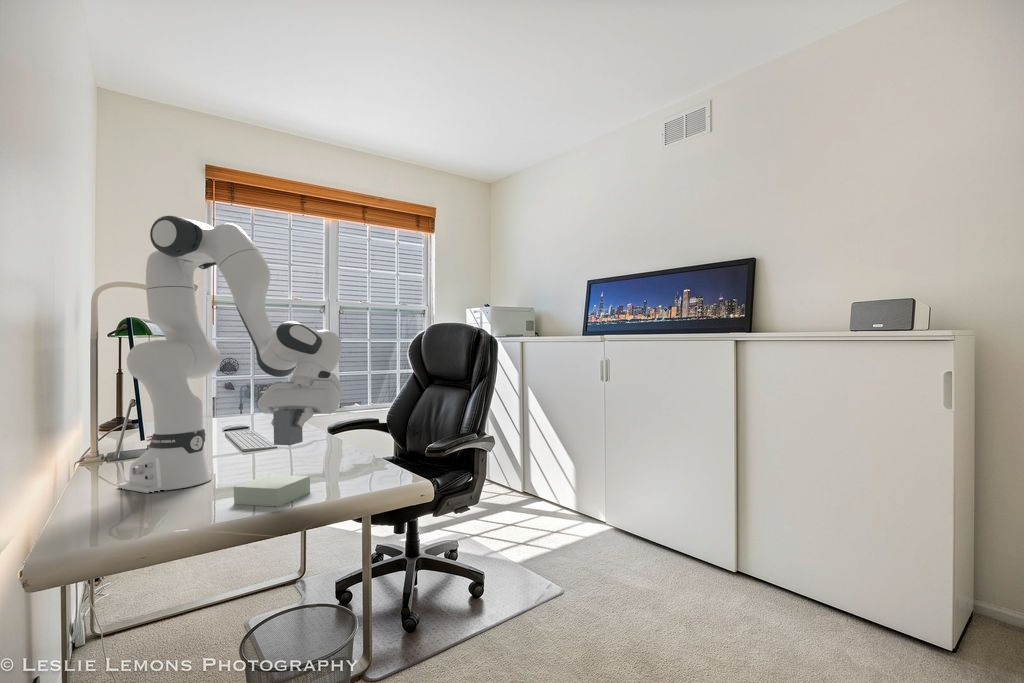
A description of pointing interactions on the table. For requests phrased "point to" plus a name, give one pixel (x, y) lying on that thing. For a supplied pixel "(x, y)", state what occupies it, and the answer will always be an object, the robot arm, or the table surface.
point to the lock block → (287, 427)
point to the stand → (271, 490)
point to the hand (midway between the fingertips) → (286, 425)
